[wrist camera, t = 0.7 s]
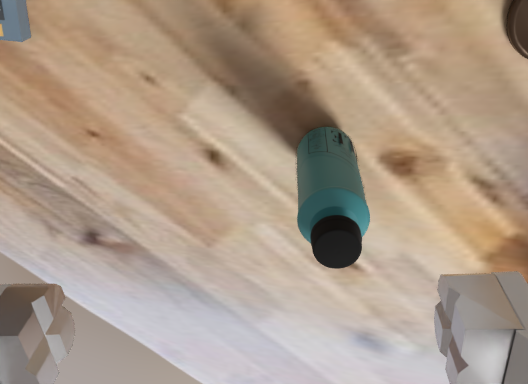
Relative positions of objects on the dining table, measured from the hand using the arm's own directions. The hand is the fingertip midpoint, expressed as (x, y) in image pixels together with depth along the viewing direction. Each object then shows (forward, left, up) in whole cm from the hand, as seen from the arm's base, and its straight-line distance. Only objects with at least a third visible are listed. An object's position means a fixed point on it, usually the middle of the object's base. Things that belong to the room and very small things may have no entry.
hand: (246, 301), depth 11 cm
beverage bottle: (+16, +6, -44) cm, 47 cm away
